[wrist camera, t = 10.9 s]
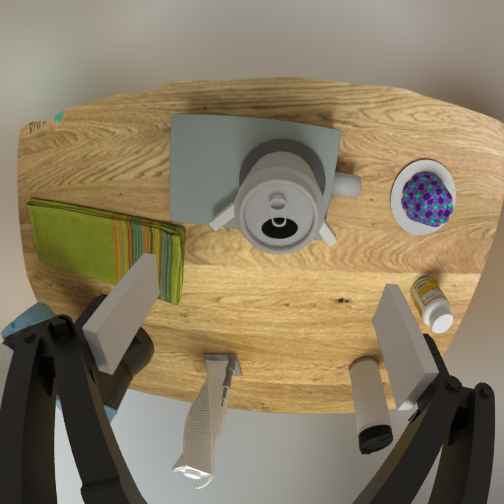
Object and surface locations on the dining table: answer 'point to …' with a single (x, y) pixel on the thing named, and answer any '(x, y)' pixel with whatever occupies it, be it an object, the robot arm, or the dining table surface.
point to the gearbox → (244, 163)
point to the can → (279, 204)
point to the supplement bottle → (432, 304)
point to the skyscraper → (207, 418)
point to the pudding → (423, 197)
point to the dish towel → (107, 243)
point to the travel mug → (370, 406)
